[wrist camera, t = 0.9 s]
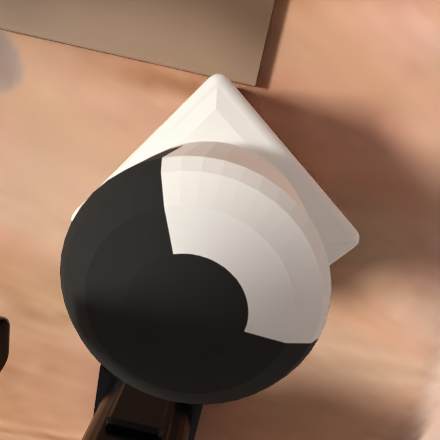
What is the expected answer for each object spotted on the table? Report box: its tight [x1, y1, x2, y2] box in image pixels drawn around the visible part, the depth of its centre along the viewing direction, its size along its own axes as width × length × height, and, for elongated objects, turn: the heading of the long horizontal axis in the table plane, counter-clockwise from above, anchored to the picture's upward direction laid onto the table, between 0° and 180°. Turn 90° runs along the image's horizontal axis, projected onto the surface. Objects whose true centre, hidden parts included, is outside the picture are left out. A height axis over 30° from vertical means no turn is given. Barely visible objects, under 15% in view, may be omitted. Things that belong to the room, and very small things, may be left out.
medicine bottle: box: [60, 74, 359, 404], centre depth 13 cm, size 7×7×12 cm
